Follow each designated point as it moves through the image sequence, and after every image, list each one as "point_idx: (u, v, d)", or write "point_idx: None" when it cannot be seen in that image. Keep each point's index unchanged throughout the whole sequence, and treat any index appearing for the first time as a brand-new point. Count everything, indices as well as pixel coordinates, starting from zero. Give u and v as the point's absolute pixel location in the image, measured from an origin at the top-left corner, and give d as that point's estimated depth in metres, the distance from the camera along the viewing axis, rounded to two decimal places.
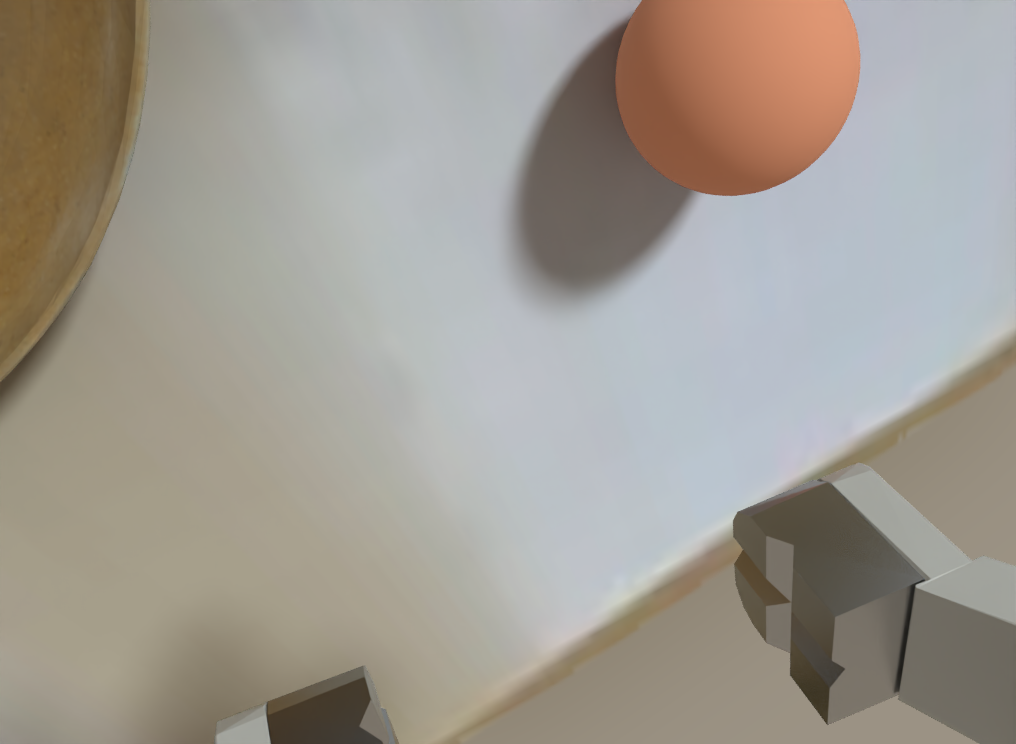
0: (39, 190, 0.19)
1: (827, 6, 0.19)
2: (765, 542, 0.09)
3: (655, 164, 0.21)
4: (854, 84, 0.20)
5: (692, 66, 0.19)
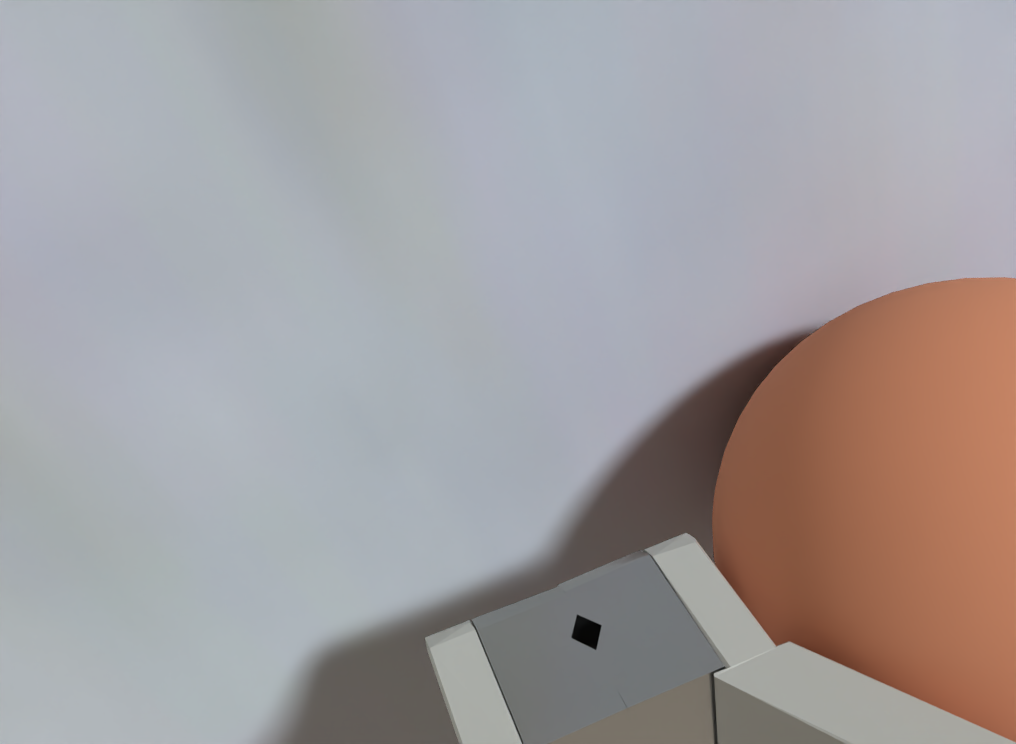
0: None
1: None
2: (577, 620, 0.09)
3: None
4: None
5: None
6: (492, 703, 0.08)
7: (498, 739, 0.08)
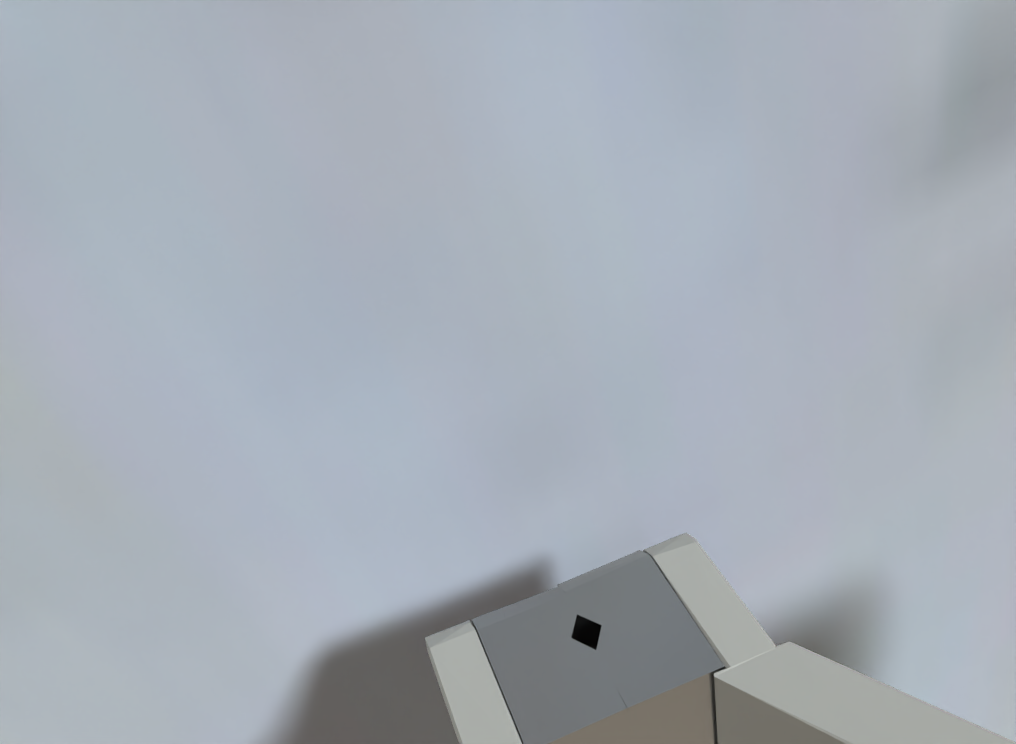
0: None
1: None
2: (578, 620, 0.09)
3: None
4: None
5: None
6: (492, 703, 0.08)
7: (498, 739, 0.08)
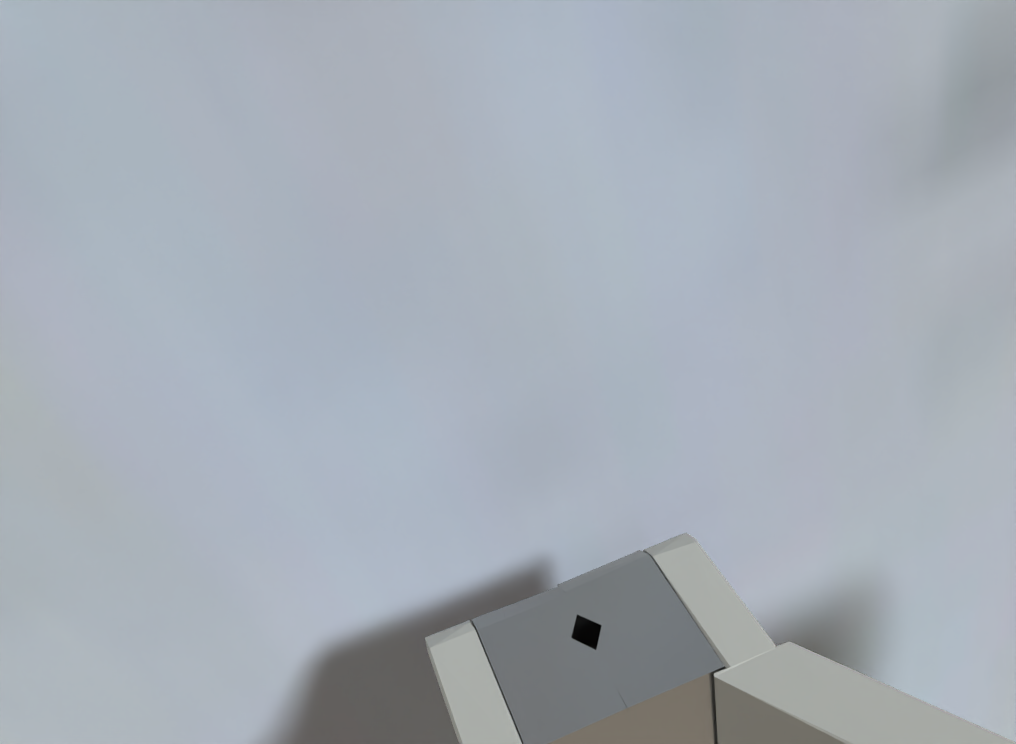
0: None
1: None
2: (578, 620, 0.09)
3: None
4: None
5: None
6: (492, 703, 0.08)
7: (498, 739, 0.08)
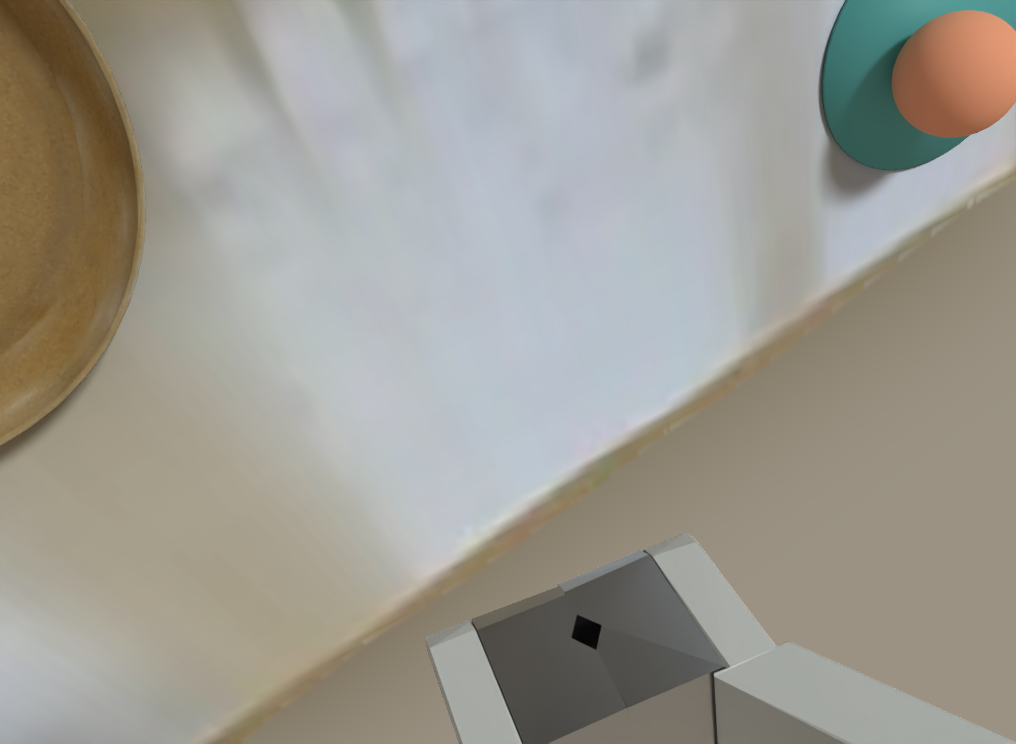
0: (85, 295, 0.35)
1: None
2: (578, 620, 0.09)
3: None
4: None
5: None
6: (492, 703, 0.08)
7: (498, 739, 0.08)
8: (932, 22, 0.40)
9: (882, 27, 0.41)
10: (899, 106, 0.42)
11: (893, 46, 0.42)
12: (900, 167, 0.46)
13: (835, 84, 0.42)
